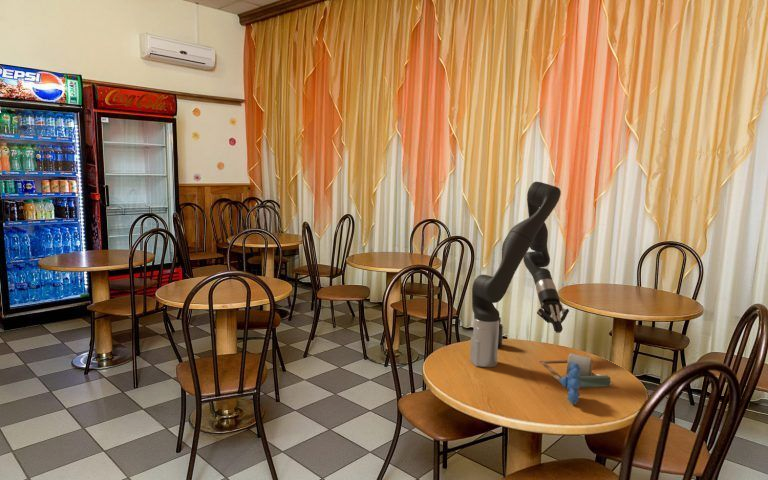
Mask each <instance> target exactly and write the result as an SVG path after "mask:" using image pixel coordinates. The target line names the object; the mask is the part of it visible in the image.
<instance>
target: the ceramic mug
mask: <svg viewBox="0 0 768 480" xmlns="http://www.w3.org/2000/svg"><path fill="white" fill-rule="evenodd" d="M567 360H568V362H566V363H567V364H566V369H565V370H566V371H565V373H566V375H568V373H569V372H570V370H569V366H570V365H571V364H572V363H574V362H576V363H577V364H578V365H579V367H580V368H581V369H580V370H579V372H580V374H581V375H580V376H592V375H591V373H592V372H593V364H594V360H593V359H592V358H590V357H589V356H583V355H579V354H574V353H569V354H568V358H567Z"/></svg>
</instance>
